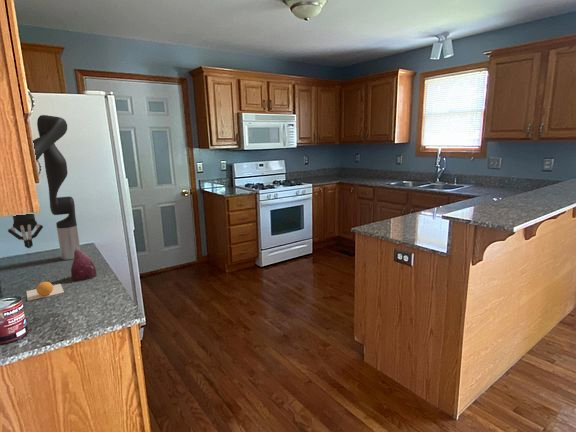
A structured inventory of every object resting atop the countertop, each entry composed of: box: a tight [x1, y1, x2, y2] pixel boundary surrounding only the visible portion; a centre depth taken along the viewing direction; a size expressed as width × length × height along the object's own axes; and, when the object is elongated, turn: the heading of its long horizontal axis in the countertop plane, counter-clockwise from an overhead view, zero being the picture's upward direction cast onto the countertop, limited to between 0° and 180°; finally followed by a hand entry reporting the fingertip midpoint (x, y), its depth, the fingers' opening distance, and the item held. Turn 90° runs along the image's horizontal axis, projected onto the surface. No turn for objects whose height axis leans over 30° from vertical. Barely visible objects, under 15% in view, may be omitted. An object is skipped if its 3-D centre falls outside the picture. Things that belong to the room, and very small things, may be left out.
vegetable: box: [70, 248, 97, 282], centre depth 158 cm, size 10×10×15 cm
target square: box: [26, 283, 65, 302], centre depth 142 cm, size 12×12×1 cm
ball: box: [36, 281, 53, 296], centre depth 139 cm, size 6×6×6 cm
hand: (29, 247), depth 154 cm, fingers closed
